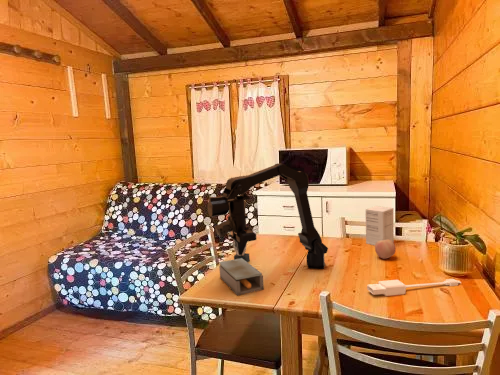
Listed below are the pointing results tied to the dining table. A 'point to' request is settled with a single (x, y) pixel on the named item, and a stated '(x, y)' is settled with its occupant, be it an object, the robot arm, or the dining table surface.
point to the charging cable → (401, 286)
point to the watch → (243, 256)
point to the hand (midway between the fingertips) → (240, 254)
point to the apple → (385, 248)
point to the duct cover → (240, 269)
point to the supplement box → (379, 224)
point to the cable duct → (242, 283)
